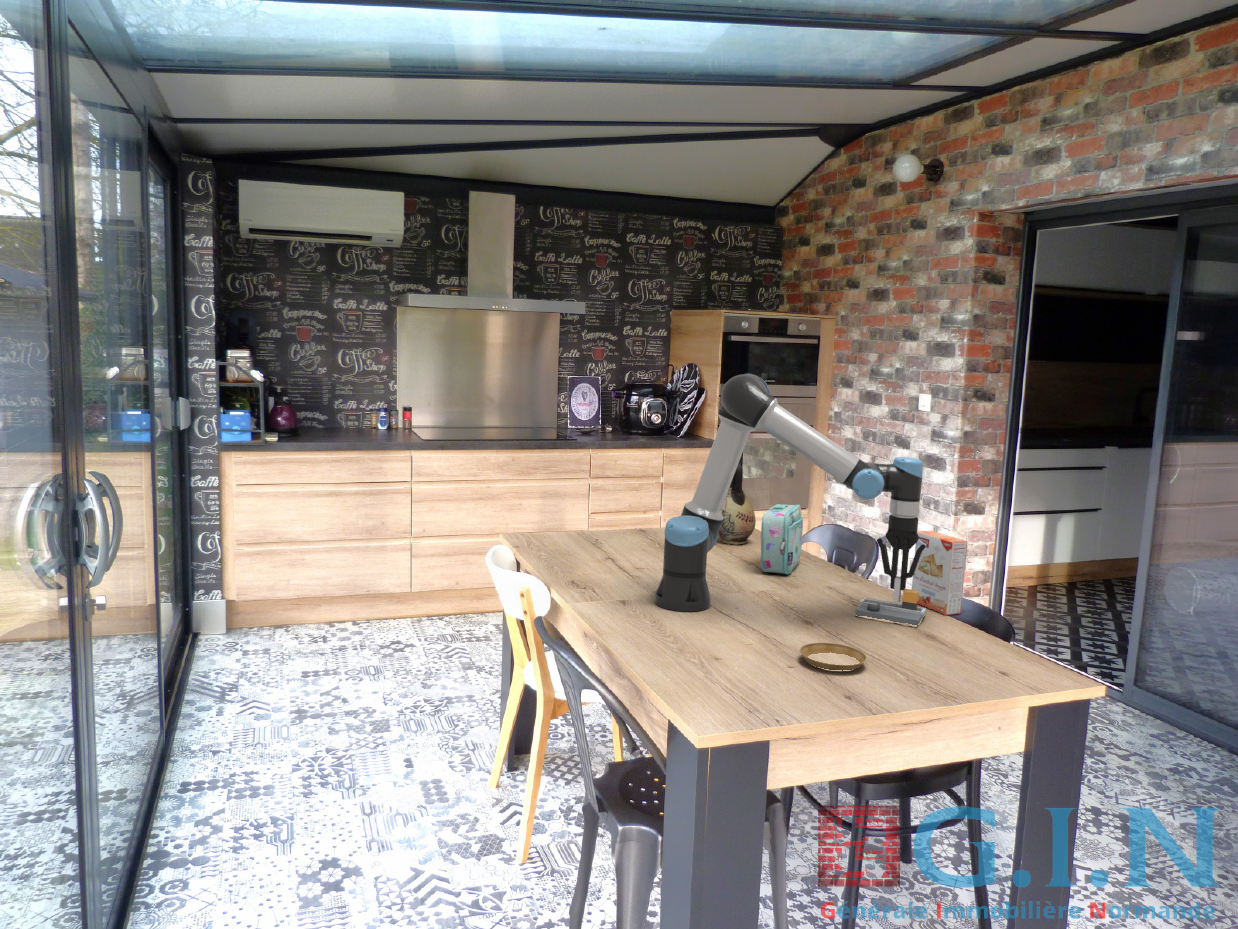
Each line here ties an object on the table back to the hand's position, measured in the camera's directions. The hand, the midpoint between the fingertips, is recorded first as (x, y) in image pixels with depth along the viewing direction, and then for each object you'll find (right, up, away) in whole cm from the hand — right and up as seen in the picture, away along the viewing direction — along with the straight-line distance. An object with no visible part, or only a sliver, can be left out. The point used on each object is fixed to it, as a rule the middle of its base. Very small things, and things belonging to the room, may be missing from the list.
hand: (896, 601), depth 239 cm
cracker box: (+14, -4, +10) cm, 18 cm away
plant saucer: (-27, -8, -39) cm, 49 cm away
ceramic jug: (-33, +8, +85) cm, 91 cm away
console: (-2, -4, 0) cm, 4 cm away
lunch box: (-23, +3, +48) cm, 53 cm away
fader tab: (+3, -2, -1) cm, 4 cm away
